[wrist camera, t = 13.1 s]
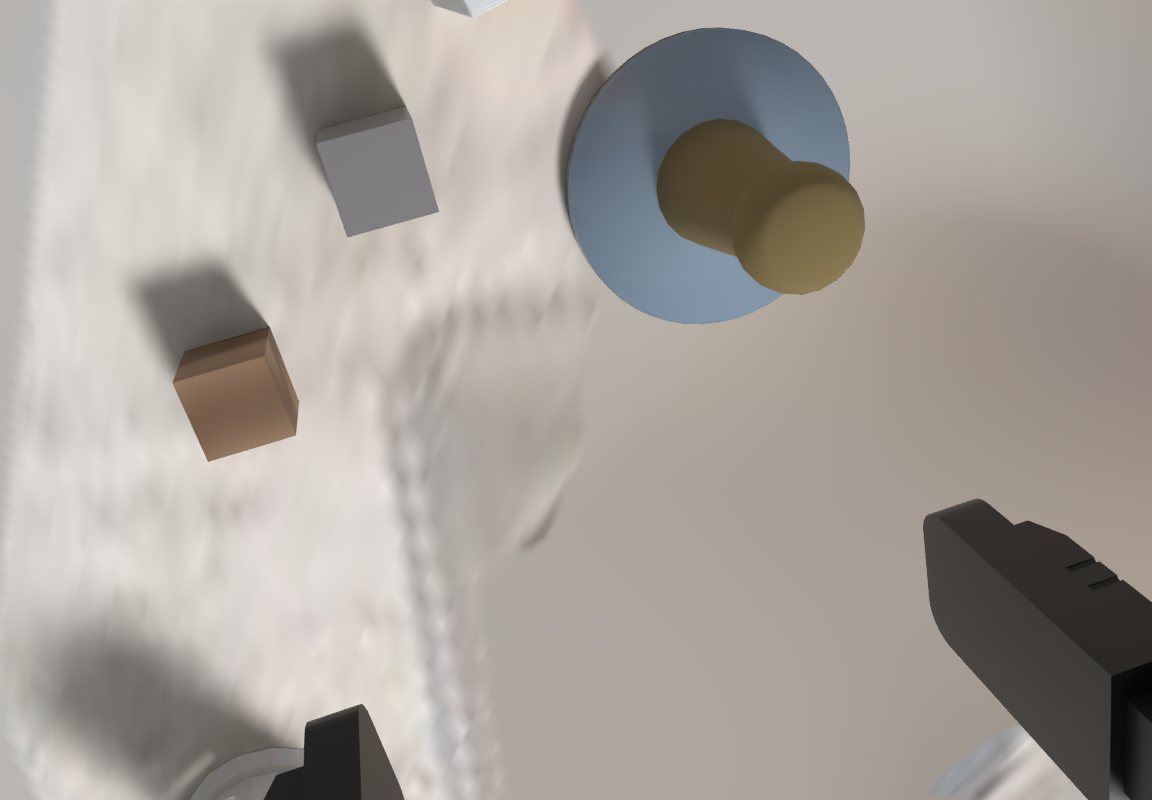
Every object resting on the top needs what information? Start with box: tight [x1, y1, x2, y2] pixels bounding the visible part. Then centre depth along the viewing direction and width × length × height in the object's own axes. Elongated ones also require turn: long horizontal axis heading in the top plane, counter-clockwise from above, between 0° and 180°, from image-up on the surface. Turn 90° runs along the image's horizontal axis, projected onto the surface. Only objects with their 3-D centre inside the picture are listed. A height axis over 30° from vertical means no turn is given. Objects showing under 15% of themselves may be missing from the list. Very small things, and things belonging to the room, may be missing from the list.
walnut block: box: [173, 327, 299, 462], centre depth 46 cm, size 4×4×4 cm
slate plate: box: [566, 28, 850, 324], centre depth 48 cm, size 14×14×1 cm
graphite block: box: [316, 106, 439, 237], centre depth 43 cm, size 4×4×4 cm
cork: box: [656, 119, 865, 295], centre depth 43 cm, size 6×6×11 cm
